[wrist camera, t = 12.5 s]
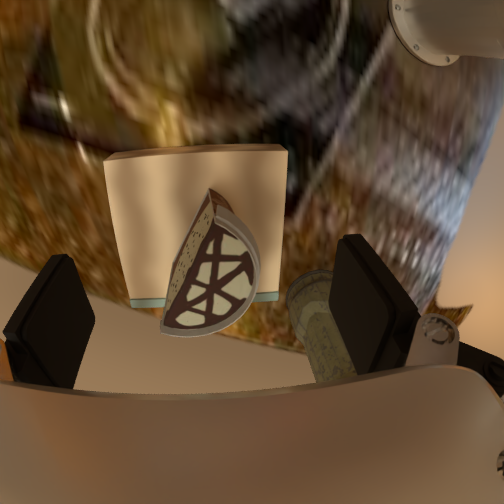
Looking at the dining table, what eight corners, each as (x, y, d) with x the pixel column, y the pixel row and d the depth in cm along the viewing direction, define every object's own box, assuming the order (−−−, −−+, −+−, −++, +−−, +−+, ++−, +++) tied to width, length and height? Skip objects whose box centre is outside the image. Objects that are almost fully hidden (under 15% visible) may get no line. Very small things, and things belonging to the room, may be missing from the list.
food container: (217, 290, 35) (222, 355, 27) (167, 272, 33) (158, 337, 25) (270, 200, 30) (296, 249, 22) (215, 174, 28) (218, 215, 20)
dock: (279, 144, 31) (288, 151, 28) (271, 280, 40) (277, 300, 37) (114, 152, 29) (102, 162, 26) (137, 287, 38) (132, 308, 35)
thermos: (314, 329, 47) (392, 539, 17) (265, 293, 42) (338, 565, 12) (358, 295, 44) (468, 502, 14) (314, 251, 39) (450, 524, 9)
